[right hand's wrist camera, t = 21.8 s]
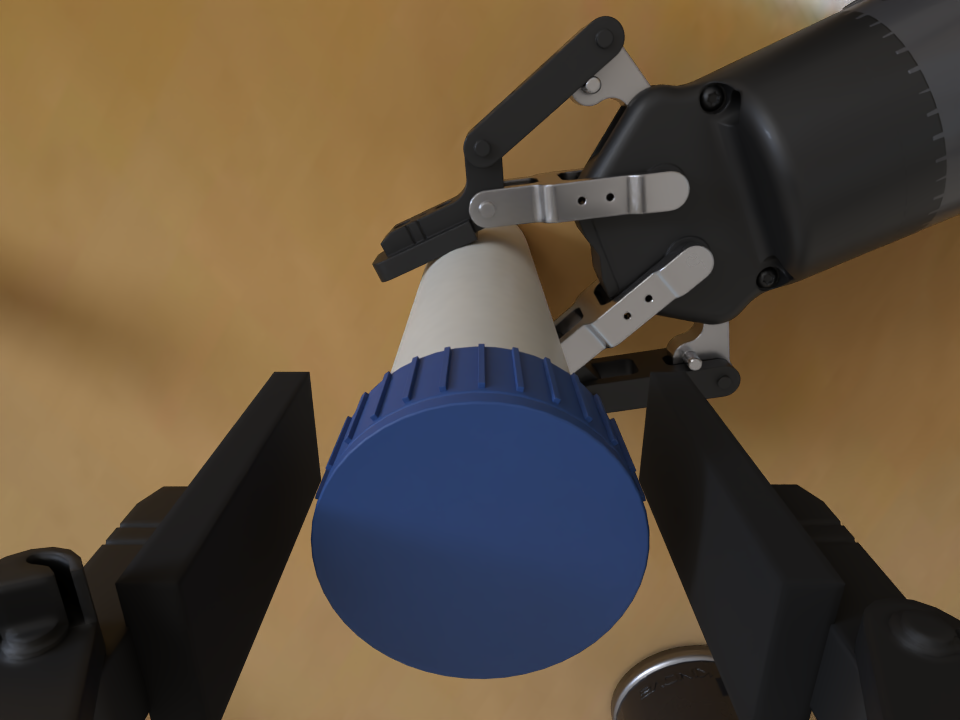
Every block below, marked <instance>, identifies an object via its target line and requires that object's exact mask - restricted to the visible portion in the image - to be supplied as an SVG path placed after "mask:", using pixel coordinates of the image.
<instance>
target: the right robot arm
mask: <svg viewBox="0 0 960 720" xmlns="http://www.w3.org/2000/svg"><path fill="white" fill-rule="evenodd" d="M320 482H321V475H320V465H319V456H318V447H317V437H316V428H315V419H314V410H313V400H312V391H311V382H310V372H274V373H273V374H272V376H271V377H270V378H269V380H268V381H267V382H266V384H265V385H264V386H263V388H262V389H261V390H260V392H259V393H258V394H257V396H256V397H255V398H254V400H253V401H252V402H251V404H250V405H249V406H248V408H247V409H246V410H245V412H244V413H243V414H242V415H241V417H240V418H239V419H238V421H237V422H236V423H235V425H234V426H233V427H232V429H231V430H230V431H229V433H228V434H227V435H226V437H225V438H224V439H223V441H222V442H221V443H220V445H219V446H218V447H217V449H216V450H215V451H214V453H213V454H212V455H211V457H210V458H209V459H208V461H207V462H206V463H205V465H204V466H203V467H202V469H201V470H200V471H199V472H198V474H197V475H196V476H195V478H194V479H193V480H192V482H191V483H190V484H189V486H188V487H162V488H161V489H159V490H157V491H156V492H154V493H153V494H151V495H150V496H148V497H147V498H145V499H144V500H142V501H141V502H139V503H137V504H136V506H135V507H134V508H133V509H132V510H131V512H130V513H129V514H128V515H127V516H126V517H125V519H124V520H123V521H122V522H121V523H120V528H116V529H115V530H114V532H113V533H112V534H111V535H110V536H109V538H108V539H107V540H106V544H105V545H102V546H101V547H100V548H99V549H98V550H97V552H96V553H95V554H94V555H93V556H92V558H91V559H90V560H89V561H88V562H87V563H86V565H85V566H84V567H83V564H82V561H81V557H80V556H78V555H77V554H76V553H74V552H73V551H72V550H69V549H63V548H57V547H48V548H38V549H30V550H27V551H23V552H20V553H17V554H13V555H10V556H7V557H4V558H2V559H0V720H145V719H146V717H147V715H148V713H149V714H150V718H151V720H221V719H222V717H223V714H224V712H225V709H226V707H227V705H228V702H229V700H230V697H231V695H232V693H233V690H234V688H235V685H236V683H237V681H238V678H239V676H240V673H241V671H242V669H243V666H244V664H245V661H246V659H247V657H248V654H249V652H250V650H251V647H252V645H253V642H254V640H255V638H256V635H257V633H258V630H259V628H260V626H261V623H262V621H263V618H264V616H265V614H266V611H267V609H268V606H269V604H270V602H271V599H272V597H273V594H274V592H275V590H276V587H277V585H278V582H279V580H280V578H281V575H282V573H283V570H284V568H285V566H286V563H287V561H288V558H289V556H290V554H291V551H292V549H293V546H294V544H295V542H296V539H297V537H298V534H299V532H300V530H301V527H302V525H303V522H304V520H305V518H306V515H307V513H308V510H309V508H310V506H311V503H312V501H313V499H314V496H315V494H316V491H317V489H318V487H319V484H320ZM639 482H640V484H641V487H642V489H643V491H644V494H645V496H646V499H647V501H648V503H649V506H650V508H651V510H652V513H653V515H654V518H655V520H656V522H657V525H658V527H659V530H660V532H661V534H662V537H663V539H664V542H665V544H666V546H667V549H668V551H669V554H670V556H671V558H672V561H673V563H674V566H675V568H676V570H677V573H678V575H679V578H680V580H681V582H682V585H683V587H684V590H685V592H686V594H687V597H688V599H689V602H690V604H691V606H692V609H693V611H694V614H695V616H696V618H697V621H698V623H699V626H700V628H701V630H702V633H703V635H704V638H705V640H706V642H707V645H708V647H709V650H710V652H711V654H712V657H713V659H714V661H715V664H716V666H717V669H718V671H719V673H720V676H721V678H722V681H723V683H724V685H725V688H726V690H727V693H728V695H729V697H730V700H731V702H732V705H733V707H734V709H735V712H736V714H737V717H738V719H739V720H809V718H810V714H811V711H812V712H813V714H814V715H815V717H816V719H817V720H960V620H958V619H956V618H954V617H953V616H951V615H949V614H947V613H945V612H943V611H942V610H940V609H938V608H936V607H933V606H930V605H927V604H924V603H921V602H918V601H915V600H909V599H906V598H905V597H904V596H903V594H902V593H901V592H900V591H899V590H898V588H897V587H896V586H895V585H894V584H893V583H892V581H891V580H890V579H889V578H888V577H887V576H886V574H885V573H884V572H883V571H882V570H881V569H880V567H879V566H878V565H877V564H876V563H875V562H874V560H873V559H872V558H871V557H870V556H869V555H868V553H867V552H866V551H865V550H864V549H863V547H862V546H861V545H860V544H859V543H855V540H854V539H855V538H854V537H853V536H852V535H851V533H850V532H849V531H848V530H847V529H846V528H845V526H841V524H840V521H839V519H838V518H837V517H836V516H835V515H834V514H833V512H832V511H831V510H830V509H829V508H828V507H827V505H826V504H825V503H824V502H823V501H822V500H820V499H819V498H817V497H815V496H814V495H812V494H811V493H809V492H808V491H806V490H805V489H803V488H802V487H800V486H798V485H771V484H770V483H769V482H768V480H767V479H766V478H765V476H764V475H763V474H762V472H761V471H760V470H759V469H758V467H757V466H756V465H755V463H754V462H753V461H752V459H751V458H750V457H749V455H748V454H747V453H746V451H745V450H744V449H743V447H742V446H741V445H740V443H739V442H738V441H737V439H736V438H735V437H734V435H733V434H732V433H731V431H730V430H729V429H728V427H727V426H726V425H725V423H724V422H723V421H722V419H721V418H720V417H719V415H718V414H717V413H716V412H715V410H714V409H713V408H712V406H711V405H710V404H709V402H708V401H707V400H706V398H705V397H704V396H703V394H702V393H701V392H700V390H699V389H698V388H697V386H696V385H695V384H694V382H693V381H692V380H691V378H690V377H689V376H688V374H687V373H686V372H650V382H649V391H648V400H647V410H646V419H645V428H644V437H643V447H642V456H641V465H640V475H639Z"/></svg>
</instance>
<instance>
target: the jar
mask: <svg viewBox="0 0 960 720" xmlns="http://www.w3.org/2000/svg"><path fill="white" fill-rule="evenodd" d="M478 344H485V347H498V348H505V349H511V350H512V347H516V348H518V349H519V351H520V352H524V353H527V354H531V355H534V356H536V357H539V358H541V359H544V357H547V358H549V359H550V361H551V363H552V364H554V365H556V366H558V367H559V368H561V369H563V370H564V371H566V372H568V373H569V374H570V371H569V368H568V365H567V362H566V359H565V356H564V353H563V350H562V347H561V344H560V341H559V338H558V335H557V332H556V328H555V325H554V322H553V319H552V316H551V313H550V310H549V307H548V304H547V301H546V298H545V295H544V292H543V289H542V286H541V283H540V280H539V277H538V274H537V270H536V267H535V264H534V261H533V258H532V255H531V252H530V249H529V246H528V243H527V241H526V238H525V236H524V234H523V232H522V231H521V229H520V228H519V227H518V226H517V225H509V226H501V227H493V228H484V229H482V230H480V231H478V240H476V241H474V242H472V243H469V244H467V245H465V246H463V247H461V248H458V249H456V250H453V251H451V252H449V253H447V254H446V255H443V256H441V257H439V258H437V259H435V260H432V261H430V262H428V263H427V264H426V267H425V270H424V273H423V276H422V279H421V282H420V285H419V288H418V291H417V294H416V297H415V300H414V303H413V306H412V309H411V312H410V315H409V319H408V322H407V325H406V328H405V331H404V334H403V337H402V340H401V343H400V346H399V349H398V352H397V355H396V358H395V361H394V364H393V367H392V370H391V374H392V373H393V372H395V371H396V370H398V369H399V368H401V367H403V366H405V365H407V364H409V363H411V362H412V359H413V358H414V357H416V356H418V357H419V358H422V357H425V356H427V355H430V354H433V353H436V352H440V351H444V348H445V347H451V349H454V348H463V347H474V346H478ZM570 375H571V374H570Z"/></svg>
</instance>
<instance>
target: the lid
mask: <svg viewBox="0 0 960 720" xmlns="http://www.w3.org/2000/svg"><path fill="white" fill-rule="evenodd" d="M635 471H636V469H635V467H634V464H633V462H632V459H631V457H630V455H629V452H628V450H627V448H626V445H625V443H624V440H623V438H622V436H621V433H620V431H619V428H618V426H617V424H616V421H615V419H614V418H612V419H610V420H609V418H608V416H607V413H606V411H605V408H604V406H603V403H602V401H601V399H600V397H599V395H598V394H595V395H593V394H592V393H591V392H590V391H589V390H588V389H587V388H586V387H585V386H584V385H583V384H582V383H581V382H580V381H579V378H578V375H576V374H575V373H573V374H572V375H570V374H569V373H568V372H566V371H564V370H563V369H561V368H559V367H558V366H556V365H554V364H552V363H551V361H550V359H549V358H547V357H544V359H541V358H539V357H536V356H534V355H531V354H527V353H524V352H520V351H519V349H518V348H516V347H512V350H511V349H505V348H498V347H485V344H478V346H474V347H463V348H454V349H451V347H445V348H444V351H440V352H436V353H433V354H430V355H427V356H425V357H422V358H419V357H418V356H416V357H414V358H413V359H412V362H411V363H409V364H407V365H405V366H403V367H401V368H399V369H398V370H396V371H395V372H393V373H392V374H391V373H390V372H387V373H386V374H385V375H384V378H383V380H382V381H381V382H380V383H379V384H378V385H377V386H376V387H375V388H374V389H373V390H371V392H370V393H369V394H368V393H366V392H365V393H364V394H363V395H362V397H361V399H360V402H359V404H358V407H357V409H356V412H355V413H354V415H353V417H352V418H351V417H349V416H348V417H347V419H346V421H345V423H344V426H343V428H342V430H341V433H340V435H339V437H338V440H337V442H336V445H335V447H334V449H333V452H332V454H331V456H330V459H329V461H328V464H327V466H326V471H325V474H324V476H323V479H322V481H321V483H320V486H319V488H318V491H317V493H316V497H315V499H318V501H317V504H316V508H315V512H314V516H313V520H312V532H311V547H312V558H313V562H314V566H315V570H316V575H317V578H318V580H319V582H320V585H321V587H322V590H323V592H324V594H325V596H326V597H327V599H328V601H329V603H330V604H331V606H332V608H333V609H334V610H335V612H336V613H337V614H338V615H339V617H340V618H341V619H342V620H343V622H344V623H345V624H346V625H347V626H348V627H349V628H350V629H351V630H352V631H353V632H354V633H355V634H356V635H357V636H359V637H360V638H361V639H362V640H364V641H365V642H366V643H368V644H369V645H370V646H372V647H373V648H375V649H376V650H378V651H380V652H381V653H383V654H385V655H386V656H388V657H390V658H392V659H394V660H397V661H399V662H401V663H403V664H405V665H408V666H411V667H414V668H417V669H420V670H423V671H426V672H430V673H434V674H439V675H443V676H450V677H458V678H468V679H491V678H505V677H511V676H517V675H522V674H527V673H531V672H534V671H538V670H541V669H545V668H547V667H550V666H552V665H555V664H558V663H560V662H563V661H564V660H566V659H568V658H570V657H572V656H574V655H576V654H578V653H580V652H581V651H583V650H584V649H586V648H587V647H589V646H590V645H592V644H593V643H595V642H596V641H597V640H598V639H599V638H601V637H602V636H603V635H604V634H605V633H606V632H608V631H609V630H610V629H611V628H612V627H613V625H614V624H615V623H616V622H617V621H618V620H619V619H620V618H621V617H622V615H623V614H624V612H625V611H626V610H627V608H628V607H629V605H630V604H631V602H632V601H633V599H634V597H635V595H636V593H637V591H638V589H639V587H640V585H641V582H642V579H643V576H644V573H645V569H646V566H647V560H648V554H649V525H648V519H647V513H646V509H645V506H644V503H643V501H646V499H645V495H644V492H643V490H642V488H641V485H640V483H639V480H638V478H637V476H636V473H635Z"/></svg>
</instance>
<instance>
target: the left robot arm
mask: <svg viewBox="0 0 960 720" xmlns="http://www.w3.org/2000/svg"><path fill="white" fill-rule="evenodd" d="M624 40H625V35H624V30H623V27H622V25H621V24H620V23H619V22H618V21H617V20H616V19H615V18H612V17H609V16H602V17H599V18H597V19H595V20H594V21H592V22H591V23H589V24H588V25H586V26H585V27H583V28H582V29H581V30H580V31H579V32H577V33H576V34H575V35H574V36H573V37H572V38H571V39H570V40H569V41H568V42H567V43H565V44H564V45H563V46H562V47H561V48H560V49H559V50H558V51H557V52H556V53H554V54H553V55H552V56H551V57H550V58H549V59H548V60H547V61H546V62H545V63H544V64H542V65H541V66H540V67H539V68H538V69H537V70H536V71H535V72H534V73H533V74H531V75H530V76H529V77H528V78H527V79H526V80H525V81H524V82H523V83H522V84H521V85H519V86H518V87H517V88H516V89H515V90H514V91H513V92H512V93H511V94H510V95H508V96H507V97H506V98H505V99H504V100H503V101H502V102H501V103H500V104H499V105H498V106H496V107H495V108H494V109H493V110H492V111H491V112H490V113H489V114H488V115H487V116H485V117H484V118H483V119H482V120H481V121H480V122H479V123H478V124H477V125H476V126H475V127H473V128H472V129H471V130H470V131H469V133H468V134H467V136H466V139H465V142H464V147H463V149H464V155H465V167H466V178H467V182H466V185H465V187H464V189H463V191H462V192H461V193H460V194H458V195H457V196H455V197H454V198H451V199H449V200H447V201H445V202H443V203H441V204H439V205H437V206H435V207H433V208H430V209H428V210H426V211H424V212H422V213H420V214H418V215H416V216H414V217H412V218H410V219H407V220H405V221H403V222H401V223H399V224H397V225H395V226H394V228H393V229H392V230H391V231H390V232H389V233H388V234H387V235H386V237H385V238H384V240H383V241H382V243H381V246H382V248H383V250H384V251H383V252H382V253H380V254H379V255H378V256H377V257H376V259H375V260H374V262H373V264H372V265H373V267H374V268H375V270H376V272H377V274H378V276H379V278H380V280H381V282H386V281H389V280H391V279H393V278H396V277H398V276H400V275H402V274H404V273H406V272H409V271H411V270H413V269H415V268H417V267H419V266H422V265H424V264H426V263H428V262H430V261H432V260H435V259H437V258H439V257H441V256H443V255H446V254H447V253H449V252H451V251H453V250H456V249H458V248H461V247H463V246H465V245H467V244H469V243H472V242H474V241H476V240H478V231H480V230H482V229H484V228H493V227H501V226H509V225H518V224H526V223H535V222H544V223H559V222H567V221H575V223H576V225H577V227H578V229H579V230H580V231H581V233H582V234H583V235H584V236H585V238H586V239H587V240H588V242H589V243H590V245H591V254H592V263H593V267H594V270H595V272H596V275H597V277H598V279H597V280H596V281H595V282H593V283H592V284H591V285H590V286H589V287H588V288H586V289H585V290H584V291H583V292H582V293H581V294H580V295H579V296H578V297H577V299H576V301H575V303H574V304H573V305H572V306H571V307H570V308H569V309H568V310H567V311H566V312H564V313H563V314H562V315H561V316H560V317H558V318H557V319H556V320H555V321H554V325H555V328H556V332H557V335H558V338H559V341H560V344H561V347H562V350H563V353H564V356H565V359H566V362H567V365H568V368H569V371H570V374H571V375H572V374H573V373H575V374H576V375H578V378H579V381H580V382H581V383H582V384H583V385H584V386H585V387H586V388H587V389H588V390H589V391H590V392H591V393H592V394H593V395H595V394H598V395H599V397H600V399H601V401H602V403H603V406H604V408H605V411H606V413H610V412H617V411H625V410H632V409H639V408H646V407H647V400H648V391H649V382H650V372H686V373H687V374H688V376H689V377H690V378H691V380H692V381H693V382H694V384H695V385H696V386H697V388H698V389H699V390H700V392H701V393H702V394H703V396H704V397H705V398H706V399H709V398H716V397H723V396H728V395H730V394H732V393H733V392H734V391H735V390H736V389H737V388H738V386H739V384H740V375H739V373H738V371H737V370H736V369H735V368H734V367H733V366H732V364H731V363H730V359H729V321H730V320H732V319H733V318H735V317H736V316H737V315H739V314H740V312H741V311H742V310H743V309H744V308H745V307H746V306H747V305H748V304H749V303H750V302H751V301H752V300H753V299H755V298H756V297H757V296H759V295H760V294H762V293H764V292H766V291H768V290H771V289H775V288H778V287H782V286H785V285H789V284H792V283H795V282H798V281H800V280H803V279H805V278H807V277H810V276H812V275H814V274H817V273H819V272H822V271H824V270H826V269H829V268H831V267H834V266H836V265H838V264H841V263H843V262H846V261H848V260H850V259H853V258H855V257H858V256H860V255H862V254H865V253H867V252H870V251H872V250H874V249H877V248H879V247H882V246H884V245H887V244H889V243H892V242H894V241H896V240H899V239H901V238H904V237H906V236H909V235H911V234H913V233H916V232H918V231H920V230H922V229H925V228H927V227H930V226H932V225H934V224H937V223H939V222H942V221H944V220H947V219H949V218H952V217H954V216H956V215H959V214H960V0H855V1H853V2H852V3H850V4H848V5H847V6H845V7H844V8H843V10H842V11H840V12H838V13H836V14H834V15H832V16H829V17H827V18H825V19H823V20H821V21H819V22H817V23H815V24H813V25H811V26H808V27H806V28H804V29H802V30H800V31H798V32H796V33H794V34H792V35H790V36H788V37H785V38H783V39H781V40H779V41H777V42H775V43H773V44H771V45H769V46H767V47H764V48H762V49H760V50H758V51H756V52H754V53H752V54H750V55H748V56H746V57H744V58H741V59H739V60H737V61H735V62H733V63H731V64H729V65H727V66H725V67H723V68H720V69H718V70H716V71H714V72H712V73H710V74H708V75H706V76H704V77H702V78H699V79H697V80H695V81H693V82H690V83H687V84H684V85H679V86H672V85H651V86H650V84H649V83H648V82H647V80H646V79H645V77H644V76H643V74H642V73H641V71H640V70H639V69H638V67H637V66H636V64H635V63H634V61H633V60H632V59H631V57H630V56H629V54H628V53H627V51H626V50H625V49H624V47H623V44H624ZM569 97H570V99H571V100H572V101H573V102H574V103H576V104H578V105H581V106H592V105H596V104H598V103H599V102H601V101H602V100H604V99H607V98H612V99H614V100H616V101H618V102H619V103H620V104H621V107H620V109H619V110H618V112H617V114H616V115H615V117H614V119H613V120H612V122H611V124H610V125H609V127H608V129H607V130H606V132H605V134H604V135H603V137H602V139H601V140H600V142H599V144H598V145H597V147H596V149H595V150H594V152H593V154H592V156H591V157H590V159H589V161H588V162H587V164H586V166H585V167H584V168H581V169H572V170H564V171H556V172H548V173H541V174H536V175H533V176H528V177H521V178H513V179H504V180H503V166H502V157H503V156H504V155H505V154H506V153H507V152H508V151H509V150H511V149H512V148H513V147H514V146H515V145H516V144H517V143H519V142H520V141H521V140H522V139H523V138H524V137H525V136H526V135H528V134H529V133H530V132H531V131H532V130H533V129H534V128H535V127H537V126H538V125H539V124H540V123H541V122H542V121H543V120H544V119H546V118H547V117H548V116H549V115H550V114H551V113H552V112H554V111H555V110H556V109H557V108H558V107H559V106H560V105H561V104H563V103H564V102H565V101H566V100H567V99H568V98H569ZM625 313H627V314H626V315H624V314H625ZM654 315H660V316H665V317H671V318H676V319H681V320H687V321H692V322H695V323H694V325H693V327H692V328H691V329H690V330H689V331H687V332H685V333H683V334H680V335H677V336H675V337H673V338H672V339H671V340H670V342H669V343H668V345H667V348H664V349H657V350H650V351H643V352H637V353H630V354H623V355H616V356H609V357H602V358H596V359H592V358H593V357H595V356H596V355H597V354H598V353H600V352H601V351H602V350H604V349H606V348H612V347H615V346H617V345H618V344H620V343H621V342H622V341H623V340H625V339H626V338H627V337H628V336H630V335H631V334H632V333H633V332H634V331H636V330H637V329H638V328H639V327H641V326H642V325H643V324H644V323H646V322H647V321H648V320H649V319H651V318H652V317H653V316H654ZM611 715H612V720H739V719H738V717H737V714H736V712H735V709H734V707H733V705H732V702H731V700H730V697H729V695H728V693H727V690H726V688H725V685H724V683H723V681H722V678H721V676H720V673H719V671H718V669H717V666H716V664H715V661H714V659H713V657H712V654H711V652H710V650H709V647H708V646H684V647H677V648H673V649H669V650H665V651H662V652H659V653H657V654H654V655H652V656H650V657H648V658H646V659H645V660H643V661H641V662H640V663H638V664H637V665H635V666H634V667H633V668H632V669H631V670H630V671H628V672H627V673H626V674H625V676H624V677H623V678H622V679H621V681H620V682H619V684H618V685H617V687H616V689H615V691H614V694H613V697H612V701H611Z"/></svg>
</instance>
